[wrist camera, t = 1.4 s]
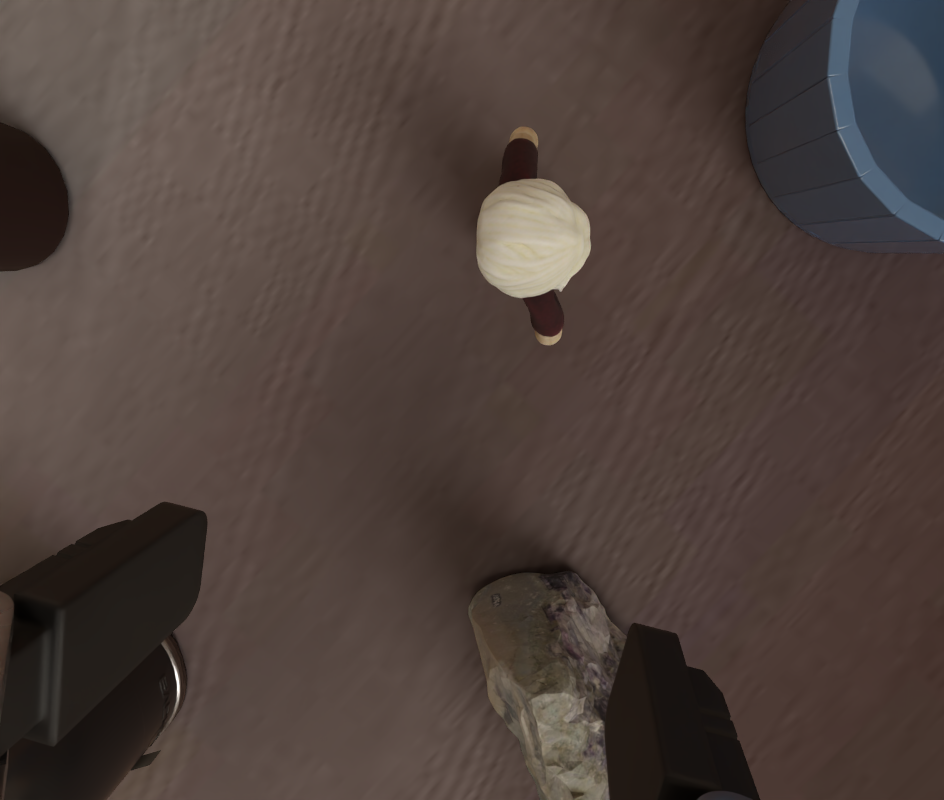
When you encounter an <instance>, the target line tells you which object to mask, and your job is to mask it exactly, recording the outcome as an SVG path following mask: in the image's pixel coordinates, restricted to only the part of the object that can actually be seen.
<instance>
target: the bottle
mask: <svg viewBox="0 0 944 800" xmlns="http://www.w3.org/2000/svg"><path fill="white" fill-rule="evenodd" d="M68 215H69V209H68V196H67V189H66V187H65V184H64V181H63V178H62V175H61V173H60V170H59V168H58V166H57V165H56V164H55V162H54V161H53V159H52V158H51V156H50V155H49V154H48V152H47V151H46V149H45V148H43V147H42V146H41V145H40V144H39V143H37V142H36V141H35V140H34V139H32V138H31V137H30V136H29V135H28V134H26V133H24V132H22V131H20V130H17V129H15V128H12V127H10V126H8V125H5V124H2V123H0V271H17V270H21V269H24V268H27V267H31V266H34V265H37V264H39V263H40V262H41V261H43V260H44V259H45V258H47V257H48V256H49V255H50V254H52V253H53V252H54V251H55V249H56V247H57V246H58V244H59V242H60V241H61V239H62V238H63V236H64V233H65V229H66V224H67V220H68Z"/></svg>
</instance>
